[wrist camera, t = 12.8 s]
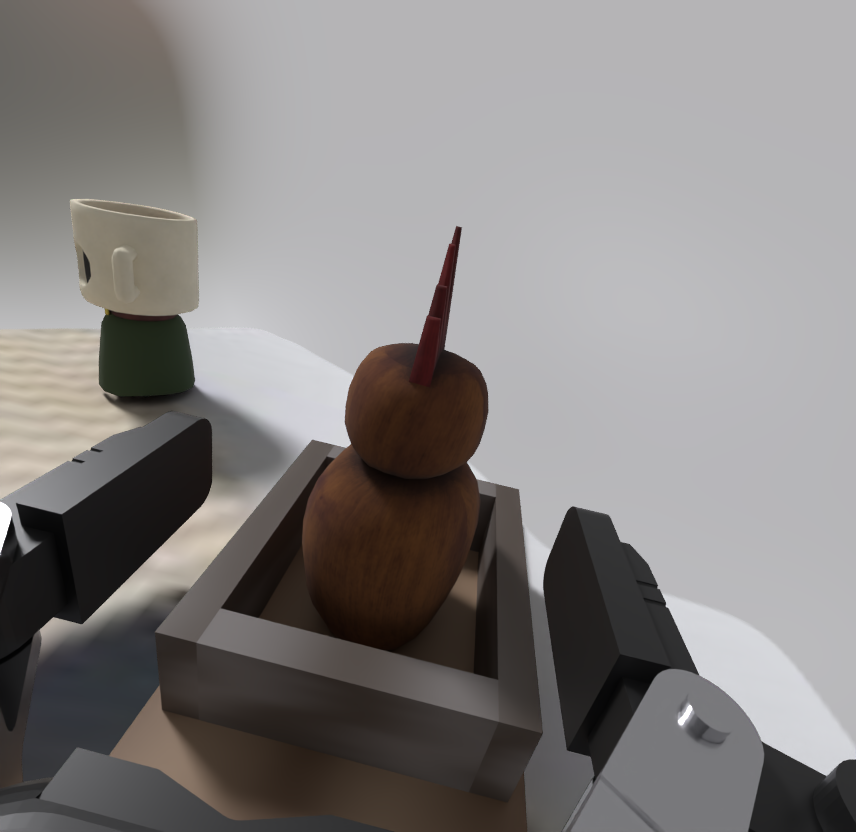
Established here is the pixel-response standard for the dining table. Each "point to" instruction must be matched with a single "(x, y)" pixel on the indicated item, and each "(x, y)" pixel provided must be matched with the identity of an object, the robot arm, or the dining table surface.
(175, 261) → the character mug
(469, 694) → the socket stand
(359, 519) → the wooden figurine
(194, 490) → the robot arm
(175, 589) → the dining table surface
